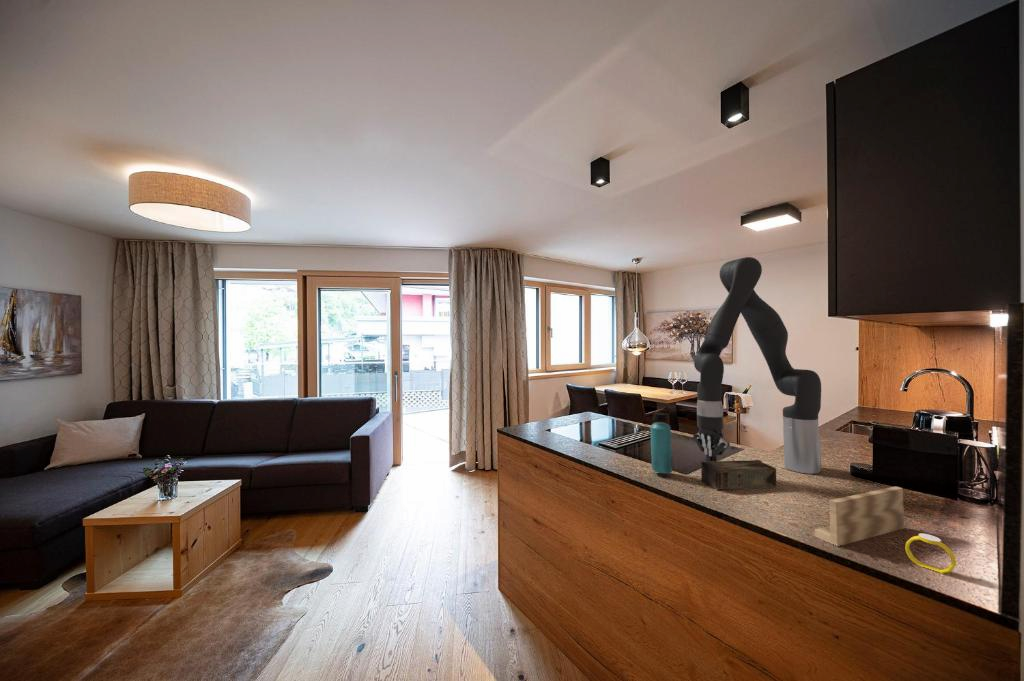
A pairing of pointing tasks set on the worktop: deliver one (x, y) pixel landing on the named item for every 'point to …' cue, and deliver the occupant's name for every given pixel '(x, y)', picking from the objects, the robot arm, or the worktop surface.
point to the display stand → (863, 516)
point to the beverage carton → (738, 474)
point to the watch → (935, 541)
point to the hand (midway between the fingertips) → (711, 466)
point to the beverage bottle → (661, 445)
